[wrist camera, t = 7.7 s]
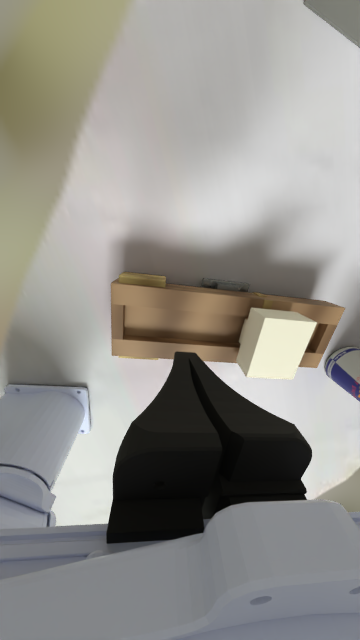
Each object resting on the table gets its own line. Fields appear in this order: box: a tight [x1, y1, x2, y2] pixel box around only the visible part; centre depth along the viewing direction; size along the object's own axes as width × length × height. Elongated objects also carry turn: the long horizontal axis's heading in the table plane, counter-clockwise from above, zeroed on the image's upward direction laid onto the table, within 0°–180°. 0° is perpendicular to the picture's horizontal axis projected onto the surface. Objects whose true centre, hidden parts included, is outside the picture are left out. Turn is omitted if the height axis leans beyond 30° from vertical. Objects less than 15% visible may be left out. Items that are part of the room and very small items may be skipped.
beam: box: [111, 272, 345, 368], centre depth 19 cm, size 22×8×3 cm, turn 83°
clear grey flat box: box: [202, 278, 249, 292], centre depth 21 cm, size 5×8×2 cm, turn 173°
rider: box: [236, 308, 317, 380], centre depth 17 cm, size 4×6×4 cm
